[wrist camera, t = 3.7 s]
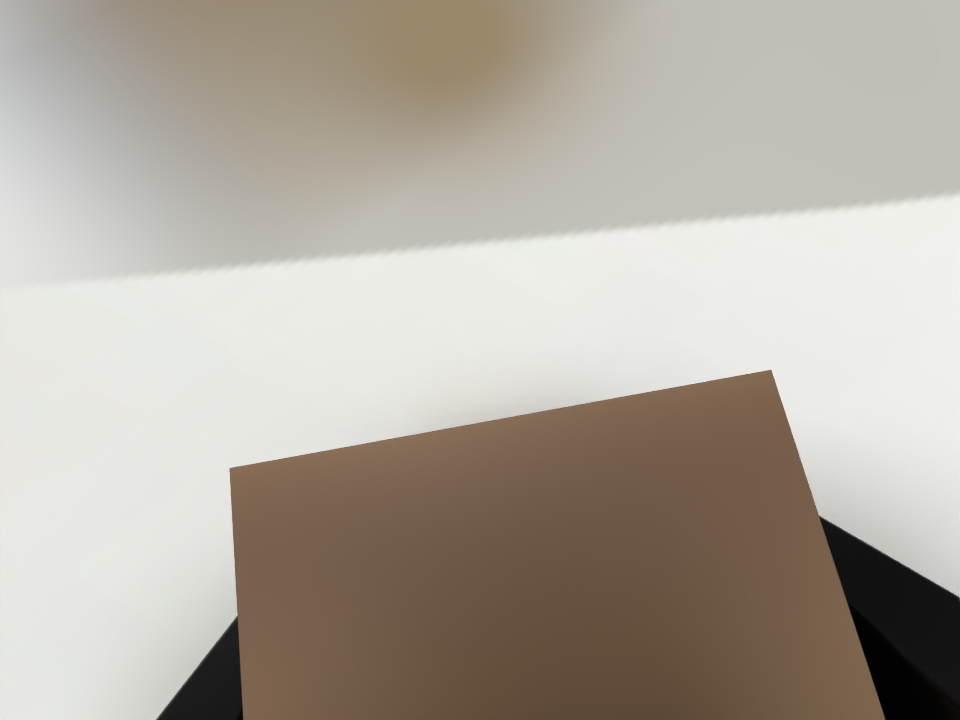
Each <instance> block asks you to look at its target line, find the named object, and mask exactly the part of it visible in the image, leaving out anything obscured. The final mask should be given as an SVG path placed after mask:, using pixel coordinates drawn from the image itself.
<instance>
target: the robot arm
mask: <svg viewBox="0 0 960 720" xmlns="http://www.w3.org/2000/svg"><path fill="white" fill-rule="evenodd" d="M819 518H820V521H821V524H822V527H823V530H824V533H825V536H826V539H827V542H828V546H829V549H830V552H831V555H832V558H833V561H834V564H835V567H836V570H837V573H838V576H839V579H840V582H841V585H842V588H843V591H844V595H845V598H846V601H847V604H848V607H849V610H850V613H851V616H852V619H853V622H854V625H855V628H856V631H857V634H858V637H859V640H860V644H861V647H862V650H863V653H864V656H865V659H866V662H867V665H868V668H869V671H870V674H871V677H872V680H873V683H874V686H875V689H876V693H877V696H878V699H879V702H880V705H881V708H882V711H883V714H884V717H885V720H960V598H959V597H958V596H957V595H955V594H953V593H952V592H950V591H948V590H946V589H945V588H943V587H941V586H940V585H938V584H936V583H934V582H933V581H931V580H929V579H927V578H926V577H924V576H922V575H921V574H919V573H917V572H915V571H914V570H912V569H910V568H909V567H907V566H905V565H903V564H902V563H900V562H898V561H896V560H895V559H893V558H891V557H890V556H888V555H886V554H884V553H883V552H881V551H879V550H877V549H876V548H874V547H872V546H871V545H869V544H867V543H865V542H864V541H862V540H860V539H858V538H857V537H855V536H853V535H852V534H850V533H848V532H846V531H845V530H843V529H841V528H840V527H838V526H836V525H834V524H833V523H831V522H829V521H827V520H826V519H824V518H822V517H821V516H819ZM156 720H243V703H242V685H241V667H240V648H239V630H238V616H237V617H236V618H235V619H234V621H233V622H232V623H231V625H230V626H229V627H228V628H227V630H226V631H225V632H224V634H223V635H222V636H221V637H220V639H219V640H218V641H217V642H216V644H215V645H214V646H213V648H212V649H211V650H210V651H209V653H208V654H207V655H206V657H205V658H204V659H203V660H202V662H201V663H200V664H199V666H198V667H197V668H196V669H195V671H194V672H193V673H192V674H191V676H190V677H189V678H188V680H187V681H186V682H185V683H184V685H183V686H182V687H181V689H180V690H179V691H178V692H177V694H176V695H175V696H174V698H173V699H172V700H171V701H170V703H169V704H168V705H167V706H166V708H165V709H164V710H163V712H162V713H161V714H160V715H159V717H158V718H157V719H156Z"/></svg>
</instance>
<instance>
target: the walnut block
mask: <svg viewBox="0 0 960 720" xmlns="http://www.w3.org/2000/svg"><path fill="white" fill-rule="evenodd" d="M230 484H231V503H232V521H233V539H234V557H235V576H236V594H237V612H238V630H239V648H240V667H241V685H242V703H243V720H885V717H884V714H883V711H882V708H881V705H880V702H879V699H878V696H877V693H876V689H875V686H874V683H873V680H872V677H871V674H870V671H869V668H868V665H867V662H866V659H865V656H864V653H863V650H862V647H861V644H860V640H859V637H858V634H857V631H856V628H855V625H854V622H853V619H852V616H851V613H850V610H849V607H848V604H847V601H846V598H845V595H844V591H843V588H842V585H841V582H840V579H839V576H838V573H837V570H836V567H835V564H834V561H833V558H832V555H831V552H830V549H829V546H828V542H827V539H826V536H825V533H824V530H823V527H822V524H821V521H820V518H819V515H818V512H817V509H816V506H815V503H814V500H813V497H812V493H811V490H810V487H809V484H808V481H807V478H806V475H805V472H804V469H803V466H802V463H801V460H800V457H799V454H798V451H797V448H796V444H795V441H794V438H793V435H792V432H791V429H790V426H789V423H788V420H787V417H786V414H785V411H784V408H783V405H782V402H781V399H780V395H779V392H778V389H777V386H776V383H775V380H774V377H773V374H772V371H771V370H768V371H762V372H757V373H751V374H746V375H740V376H735V377H729V378H724V379H718V380H713V381H707V382H702V383H696V384H691V385H685V386H680V387H674V388H669V389H663V390H658V391H652V392H647V393H641V394H636V395H630V396H625V397H619V398H614V399H608V400H603V401H597V402H592V403H586V404H581V405H575V406H570V407H564V408H559V409H553V410H548V411H542V412H537V413H531V414H526V415H520V416H515V417H509V418H504V419H498V420H493V421H487V422H482V423H476V424H471V425H465V426H460V427H454V428H449V429H443V430H438V431H432V432H427V433H421V434H416V435H410V436H405V437H399V438H394V439H388V440H383V441H377V442H372V443H366V444H361V445H355V446H350V447H344V448H339V449H333V450H328V451H322V452H317V453H311V454H306V455H300V456H295V457H289V458H284V459H278V460H273V461H267V462H261V463H256V464H250V465H245V466H239V467H234V468H230Z"/></svg>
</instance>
